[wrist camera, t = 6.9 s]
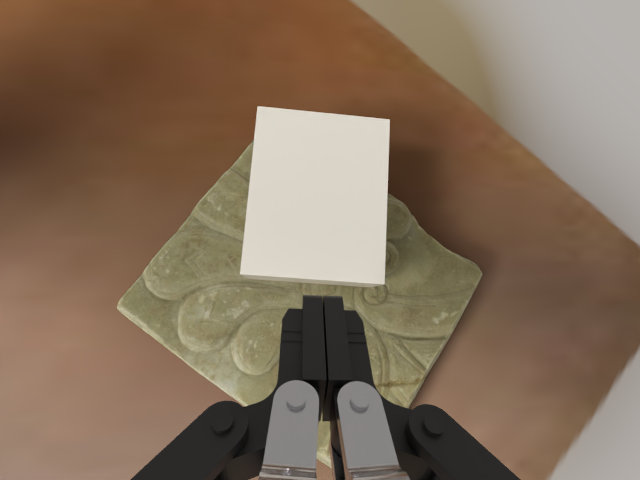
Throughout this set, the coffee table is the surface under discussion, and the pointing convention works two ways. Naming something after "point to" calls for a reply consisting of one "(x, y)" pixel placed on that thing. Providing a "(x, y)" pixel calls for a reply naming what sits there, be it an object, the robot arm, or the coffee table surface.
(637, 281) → the coffee table surface
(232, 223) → the decorative tile
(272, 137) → the white rectangular block
